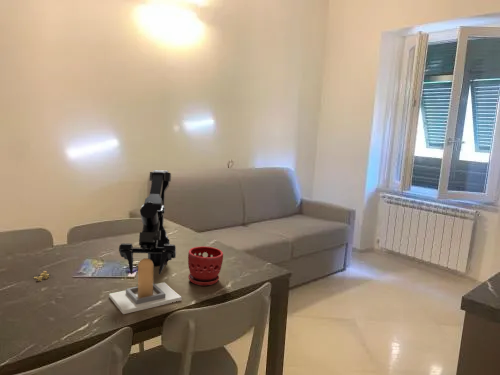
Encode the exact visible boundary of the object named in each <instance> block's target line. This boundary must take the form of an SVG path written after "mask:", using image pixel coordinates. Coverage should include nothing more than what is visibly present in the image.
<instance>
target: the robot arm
mask: <svg viewBox="0 0 500 375" xmlns="http://www.w3.org/2000/svg"><path fill="white" fill-rule="evenodd" d="M149 181H151V184H150V191H149V195H148V196H147V197H146V198H145V199H144V203H143V204H142V205H141V208H140V210H139V213H140V214H139V215H140V217H141V218H140V219H141V222H142V229H141V231H140V232H139V235H138V236H139V237H138V238H139V239H138V246H139V247H137V246H135V247H134V246H133V243H125V242H123V243H120V244H119V247H118V252H119V255H120V257H121V258H124V260H127V262H128V266H129V267H128V268H129V274H130V275H133V271H134V257H133V256H134V254H147V258H148V259H150V260H152V262H153V265H154V267H155V266H159V268H158V275H159V276H160V275H161V274H162V272H163V270H164V268H165V266H166V265H167V264H168V262H169V261H172V259H175V258H176V257H177V256H176V255H177V249H176V248H177V247H176V245H175V244H170V239H169V235H167V234H168V233H167V230H166V229H165V226H164V219H165V213H166V207H165V200H166V199H165V198H166V191H167V190H168V188H169V187H170V182H172V173H171V172H169V170H159V169H158V170H157V169H155V170H154V169H153V170H152V171H149Z"/></svg>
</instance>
